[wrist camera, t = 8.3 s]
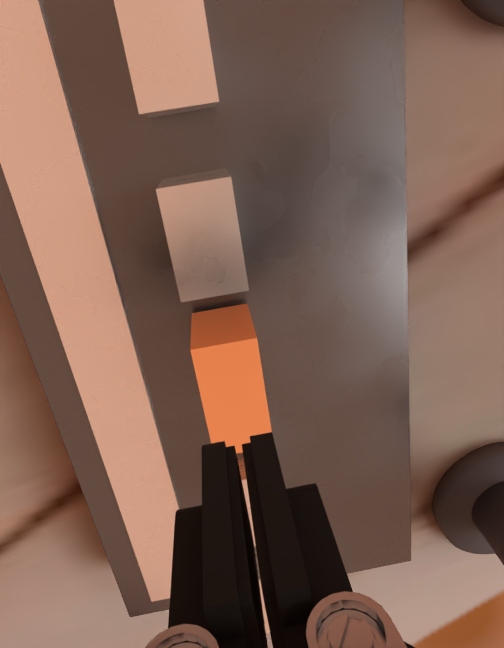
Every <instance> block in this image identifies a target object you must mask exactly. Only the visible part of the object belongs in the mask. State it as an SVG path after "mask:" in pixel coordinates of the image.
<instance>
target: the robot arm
mask: <svg viewBox="0 0 504 648" xmlns="http://www.w3.org/2000/svg"><path fill="white" fill-rule="evenodd" d="M242 450H243V457H244V465H245V472H246V479H247V486H248V494H249V501H250V508H251V515H252V523H253V530H254V537H255V544H256V552H257V559H258V566H259V573H260V580H261V587H262V593H263V599H264V604H265V609H266V614H267V619H268V624H269V629H270V634H271V639H272V644H273V648H415V647H413V646H411V645H409V644H408V643H406V642H404V641H403V639H402V637H401V636H400V634H399V632H398V630H397V628H396V627H395V625H394V623H393V621H392V620H391V618H390V616H389V615H388V614H387V613H386V611H385V610H384V609H383V607H382V606H381V605H379V604H378V603H377V602H375V601H374V600H373V599H372V598H370V597H367V596H365V595H362V594H360V593H356V592H353V591H352V588H351V585H350V582H349V579H348V576H347V573H346V570H345V567H344V564H343V561H342V558H341V555H340V552H339V549H338V546H337V543H336V540H335V537H334V534H333V531H332V528H331V525H330V522H329V519H328V516H327V513H326V510H325V507H324V504H323V501H322V499H321V496H320V493H319V490H318V487H317V485H316V483H313V484H308V485H303V486H298V487H293V488H287V489H286V487H285V483H284V479H283V475H282V471H281V467H280V462H279V458H278V454H277V450H276V446H275V442H274V438H273V434H272V432H270V433H264V434H259V435H254V436H250V443H245V444H242ZM201 451H202V505H200V506H194V507H189V508H184V509H179V510H177V511H176V514H175V525H174V542H173V558H172V574H171V591H170V607H169V624H168V629H167V630H165V631H163V632H161V633H159V634H158V635H157V636H156V637H155V638H154V639H153V640H151V641H150V642H149V643H148V645H147V646H146V647H145V648H268V646H267V638H266V631H265V623H264V616H263V609H262V601H261V594H260V586H259V579H258V571H257V564H256V556H255V549H254V542H253V536H252V530H251V525H250V520H249V515H248V510H247V505H246V500H245V495H244V490H243V485H242V480H241V475H240V469H239V464H238V459H237V454H236V449H235V446H229V447H226V444H225V441H222V442H216V443H211V444H206V445H202V449H201Z"/></svg>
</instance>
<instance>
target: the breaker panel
mask: <svg viewBox="0 0 504 648" xmlns="http://www.w3.org/2000/svg"><path fill="white" fill-rule="evenodd" d="M0 276H1V279H2V281H3V284H4V287H5V289H6V292H7V294H8V297H9V300H10V302H11V305H12V308H13V310H14V313H15V316H16V318H17V321H18V323H19V326H20V329H21V331H22V334H23V337H24V339H25V342H26V344H27V347H28V350H29V352H30V355H31V358H32V360H33V363H34V366H35V368H36V371H37V373H38V376H39V379H40V381H41V384H42V387H43V389H44V392H45V395H46V397H47V400H48V402H49V405H50V408H51V410H52V413H53V416H54V418H55V421H56V424H57V426H58V429H59V431H60V434H61V437H62V439H63V442H64V445H65V447H66V450H67V452H68V455H69V458H70V460H71V463H72V466H73V468H74V471H75V474H76V476H77V479H78V481H79V484H80V487H81V489H82V492H83V495H84V497H85V500H86V503H87V505H88V508H89V510H90V513H91V516H92V518H93V521H94V524H95V526H96V529H97V532H98V534H99V537H100V539H101V542H102V545H103V547H104V550H105V553H106V555H107V558H108V560H109V563H110V566H111V568H112V571H113V574H114V576H115V579H116V582H117V584H118V587H119V589H120V592H121V595H122V597H123V600H124V603H125V605H126V608H127V611H128V613H129V616H130V617H134V616H138V615H143V614H148V613H153V612H158V611H163V610H168V609H169V607H170V591H171V574H172V558H173V542H174V525H175V514H176V511H177V510H179V509H184V508H189V507H194V506H200V505H202V451H201V449H202V445H206V444H211V440H210V436H209V431H208V427H207V422H206V418H205V414H204V409H203V405H202V400H201V396H200V391H199V387H198V382H197V378H196V373H195V369H194V364H193V360H192V355H191V351H190V345H191V319H192V313H196V312H201V311H207V310H213V309H218V308H224V307H230V306H236V305H241V304H248V308H249V311H250V315H251V318H252V322H253V325H254V329H255V332H256V336H257V341H258V347H259V353H260V360H261V366H262V373H263V379H264V385H265V392H266V398H267V404H268V411H269V417H270V423H271V430H272V434H273V438H274V442H275V446H276V450H277V454H278V458H279V462H280V467H281V471H282V475H283V479H284V483H285V487H286V489H287V488H293V487H298V486H303V485H308V484H313V483H316V485H317V487H318V490H319V493H320V496H321V499H322V501H323V504H324V507H325V510H326V513H327V516H328V519H329V522H330V525H331V528H332V531H333V534H334V537H335V540H336V543H337V546H338V549H339V552H340V555H341V558H342V561H343V564H344V567H345V570H346V573H352V572H357V571H362V570H367V569H372V568H377V567H382V566H387V565H392V564H396V563H401V562H406V561H411V508H410V431H409V355H408V278H407V201H406V124H405V47H404V0H0ZM237 459H238V464H239V469H240V475H241V480H242V485H243V490H244V495H245V500H246V505H247V510H248V515H249V520H250V525H251V530H252V536H253V542H254V549H255V556H256V564H257V571H258V579H259V586H260V594H261V601H262V609H263V616H264V623H265V631H266V633H270V629H269V624H268V619H267V614H266V609H265V604H264V599H263V593H262V587H261V580H260V573H259V566H258V559H257V552H256V544H255V537H254V530H253V523H252V515H251V508H250V501H249V494H248V486H247V479H246V472H245V465H244V457H243V452H242V453H237Z"/></svg>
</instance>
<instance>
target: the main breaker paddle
mask: <svg viewBox="0 0 504 648" xmlns="http://www.w3.org/2000/svg"><path fill="white" fill-rule="evenodd" d="M190 351H191V355H192V360H193V364H194V369H195V373H196V378H197V382H198V387H199V391H200V396H201V400H202V405H203V409H204V414H205V418H206V422H207V427H208V431H209V436H210V440H211V443H216V442H222V441H225V444H226V447H229V446H235V449H236V454H237V453H242V452H243V450H242V444H245V443H250V436H254V435H259V434H264V433H270V432H272V430H271V423H270V417H269V411H268V404H267V398H266V392H265V385H264V379H263V373H262V366H261V360H260V353H259V347H258V341H257V336H256V332H255V329H254V325H253V322H252V318H251V315H250V311H249V308H248V304H241V305H236V306H230V307H224V308H218V309H213V310H207V311H201V312H196V313H192V319H191V345H190Z"/></svg>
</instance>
